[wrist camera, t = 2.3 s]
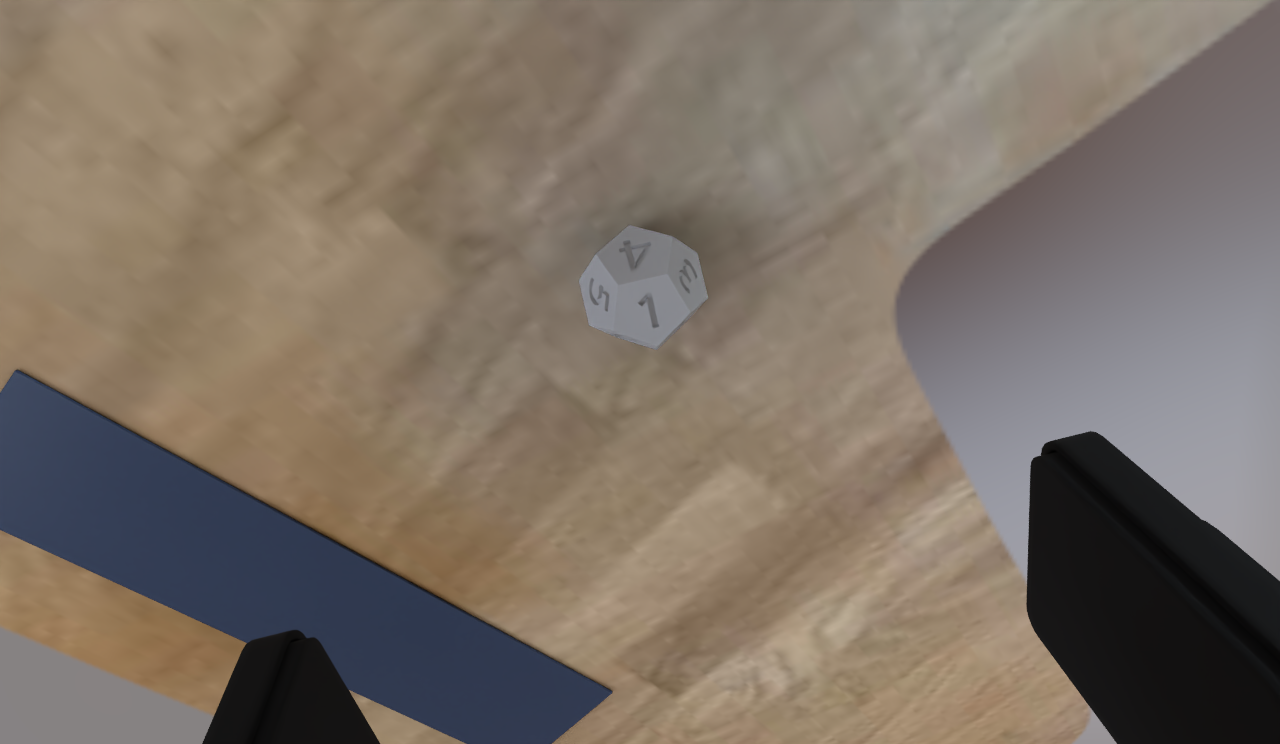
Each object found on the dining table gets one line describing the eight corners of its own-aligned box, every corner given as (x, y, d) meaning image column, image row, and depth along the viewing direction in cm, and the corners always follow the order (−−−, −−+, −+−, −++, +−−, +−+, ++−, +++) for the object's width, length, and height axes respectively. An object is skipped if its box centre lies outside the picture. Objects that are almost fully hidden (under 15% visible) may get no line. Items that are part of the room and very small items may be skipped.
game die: (595, 336, 25) (601, 382, 22) (566, 226, 23) (569, 262, 21) (703, 311, 25) (722, 354, 22) (683, 199, 23) (701, 232, 20)
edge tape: (16, 369, 23) (14, 370, 23) (612, 691, 33) (612, 693, 33) (-68, 495, 25) (-70, 497, 25) (521, 766, 35) (521, 768, 35)
